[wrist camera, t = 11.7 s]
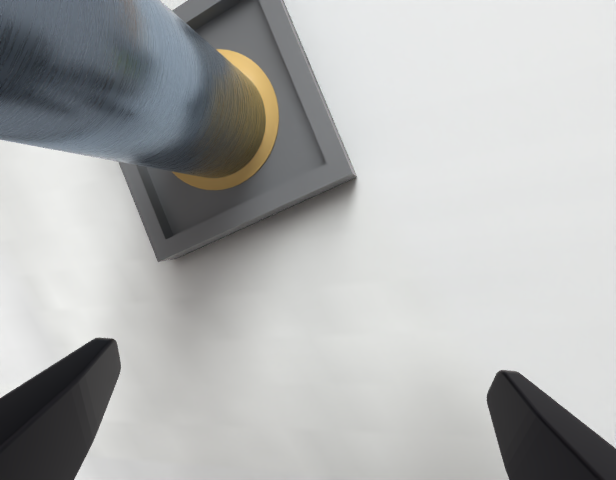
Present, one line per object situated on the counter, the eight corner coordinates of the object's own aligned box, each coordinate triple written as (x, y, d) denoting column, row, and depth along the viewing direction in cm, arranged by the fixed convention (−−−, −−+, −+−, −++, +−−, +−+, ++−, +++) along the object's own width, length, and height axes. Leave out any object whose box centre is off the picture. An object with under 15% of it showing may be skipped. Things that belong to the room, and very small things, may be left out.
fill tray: (356, 176, 18) (352, 173, 17) (176, 258, 21) (158, 262, 20) (272, -27, 19) (260, -48, 17) (105, 80, 22) (82, 70, 20)
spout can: (288, 124, 18) (-301, -333, 3) (209, 200, 19) (-478, 153, 4) (218, 41, 19) (-568, -686, 4) (146, 121, 20) (-649, -166, 5)
